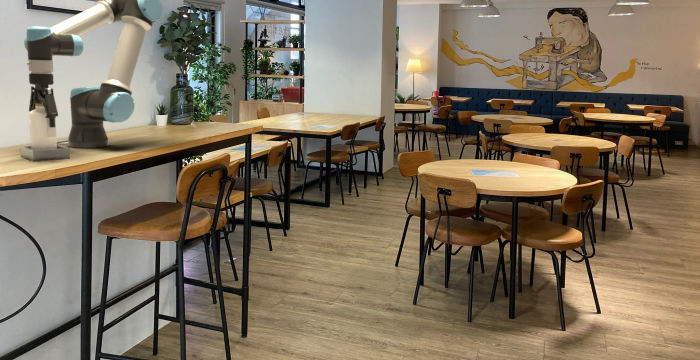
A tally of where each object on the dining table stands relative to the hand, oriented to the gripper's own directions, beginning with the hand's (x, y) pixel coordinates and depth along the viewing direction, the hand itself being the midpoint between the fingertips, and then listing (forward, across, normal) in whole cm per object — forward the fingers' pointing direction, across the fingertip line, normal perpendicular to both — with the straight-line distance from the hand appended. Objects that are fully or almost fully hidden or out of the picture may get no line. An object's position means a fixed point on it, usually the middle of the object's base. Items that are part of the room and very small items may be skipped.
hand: (44, 134), depth 221 cm
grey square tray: (+8, 0, 0) cm, 8 cm away
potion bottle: (+7, -1, 0) cm, 7 cm away
